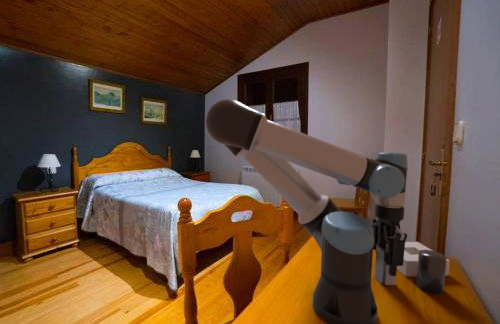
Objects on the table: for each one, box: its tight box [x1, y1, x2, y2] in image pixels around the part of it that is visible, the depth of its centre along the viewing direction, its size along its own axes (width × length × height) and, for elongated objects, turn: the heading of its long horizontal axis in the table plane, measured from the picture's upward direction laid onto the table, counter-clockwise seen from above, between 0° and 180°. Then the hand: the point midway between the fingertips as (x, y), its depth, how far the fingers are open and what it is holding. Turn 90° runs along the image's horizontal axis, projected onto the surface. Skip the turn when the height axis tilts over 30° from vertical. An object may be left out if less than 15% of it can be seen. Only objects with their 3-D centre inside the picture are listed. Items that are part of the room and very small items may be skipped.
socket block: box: [397, 241, 451, 277], centre depth 84 cm, size 14×14×5 cm
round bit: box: [415, 249, 448, 296], centre depth 71 cm, size 6×6×10 cm
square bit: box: [374, 245, 396, 286], centre depth 74 cm, size 4×4×10 cm
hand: (385, 279), depth 75 cm, fingers closed on square bit, 4 cm apart
